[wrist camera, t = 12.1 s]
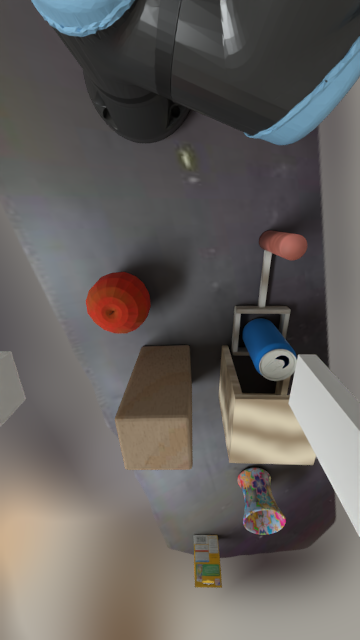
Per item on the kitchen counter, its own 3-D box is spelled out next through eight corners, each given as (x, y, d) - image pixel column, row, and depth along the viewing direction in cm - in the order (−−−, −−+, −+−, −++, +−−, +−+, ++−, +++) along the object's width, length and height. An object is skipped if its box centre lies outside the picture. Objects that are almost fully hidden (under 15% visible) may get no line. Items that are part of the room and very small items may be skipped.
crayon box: (194, 539, 76) (194, 592, 65) (193, 534, 75) (194, 586, 64) (217, 540, 76) (222, 593, 65) (217, 534, 75) (222, 587, 64)
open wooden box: (221, 345, 50) (235, 398, 35) (288, 345, 49) (331, 400, 34) (218, 396, 55) (229, 462, 40) (279, 397, 54) (313, 465, 39)
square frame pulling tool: (240, 230, 41) (257, 234, 31) (299, 230, 41) (335, 233, 30) (231, 350, 50) (241, 384, 40) (279, 350, 49) (302, 385, 39)
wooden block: (189, 343, 50) (189, 417, 31) (191, 384, 54) (192, 471, 35) (141, 345, 50) (113, 419, 32) (146, 385, 54) (124, 471, 36)
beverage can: (280, 334, 48) (308, 368, 37) (253, 352, 50) (270, 389, 39) (263, 310, 46) (285, 339, 35) (234, 329, 48) (248, 362, 37)
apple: (95, 307, 48) (68, 332, 37) (108, 257, 44) (82, 270, 33) (145, 324, 49) (132, 354, 38) (161, 278, 45) (152, 296, 34)
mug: (231, 467, 63) (239, 513, 53) (267, 460, 62) (282, 506, 52) (242, 496, 67) (251, 544, 58) (276, 490, 66) (291, 538, 56)
